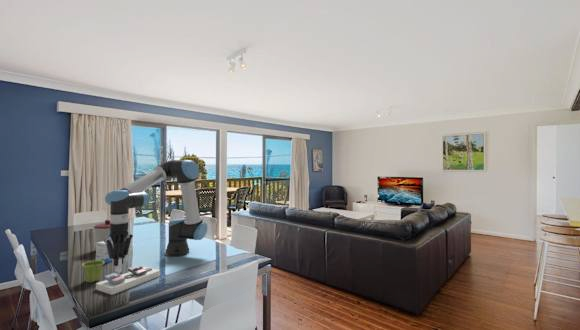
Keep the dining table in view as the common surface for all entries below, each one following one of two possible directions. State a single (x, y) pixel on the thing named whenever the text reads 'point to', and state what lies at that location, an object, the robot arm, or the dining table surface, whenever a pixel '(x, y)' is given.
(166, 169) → the robot arm
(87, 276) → the plant pot
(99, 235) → the canister
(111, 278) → the slate rocker
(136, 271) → the charcoal rocker
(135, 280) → the power strip
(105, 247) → the ink box
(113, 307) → the dining table surface
